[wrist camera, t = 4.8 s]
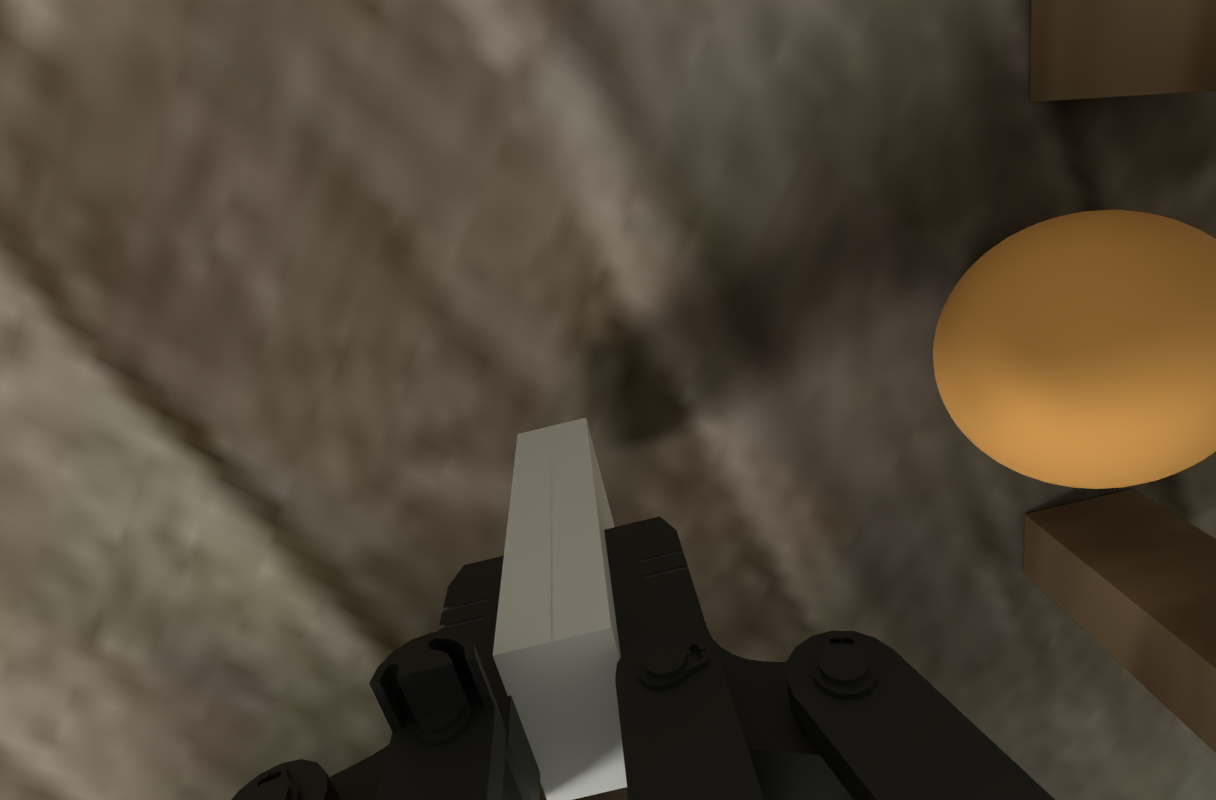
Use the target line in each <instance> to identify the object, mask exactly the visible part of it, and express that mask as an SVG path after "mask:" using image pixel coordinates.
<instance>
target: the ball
mask: <svg viewBox="0 0 1216 800" xmlns="http://www.w3.org/2000/svg"><path fill="white" fill-rule="evenodd" d="M933 366H934V372H935V379H936V383H937V387H938V390H939V393H940V396H941V398H942V401H943V403H944V405H945V407H946V409H947V411H948V412H949V414H950V416H951V418H952V419H953V421H954V422H955V424H956V425H957V426H958V428H959V429H960V430H961V431H962V432H963V433H964V434H965V436H966V437H967V438H968V439H969V440H970V441H971V442H972V443H973V444H974V445H975V446H976V447H978V448H979V449H980V450H981V451H983V452H984V453H985V454H987V455H988V456H990V457H991V458H992V459H994V460H995V461H997V462H998V463H1000V464H1002V465H1004V466H1006V467H1008V468H1010V469H1012V470H1014V471H1016V472H1018V473H1020V474H1022V475H1025V476H1028V477H1031V478H1034V479H1037V480H1040V481H1043V482H1046V483H1051V484H1056V485H1062V486H1067V487H1074V488H1088V489H1105V488H1120V487H1128V486H1133V485H1138V484H1143V483H1147V482H1152V481H1156V480H1159V479H1162V478H1165V477H1168V476H1171V475H1174V474H1176V473H1178V472H1180V471H1183V470H1185V469H1187V468H1189V467H1191V466H1193V465H1195V464H1197V463H1199V462H1201V461H1202V460H1204V459H1205V458H1207V457H1208V456H1210V455H1211V454H1213V453H1214V452H1215V451H1216V239H1215V238H1214V237H1212V236H1210V235H1208V234H1207V233H1205V232H1203V231H1201V230H1199V229H1197V228H1195V227H1192V226H1190V225H1188V224H1185V223H1183V222H1181V221H1178V220H1175V219H1171V218H1168V217H1164V216H1160V215H1156V214H1152V213H1147V212H1139V211H1129V210H1116V209H1113V210H1097V211H1082V212H1078V213H1073V214H1068V215H1063V216H1059V217H1055V218H1051V219H1048V220H1045V221H1042V222H1040V223H1037V224H1034V225H1032V226H1030V227H1027V228H1025V229H1023V230H1021V231H1019V232H1017V233H1015V234H1013V235H1011V236H1009V237H1007V238H1006V239H1005V240H1003V241H1002V242H1000V243H999V244H997V245H996V246H994V247H993V248H991V249H990V250H989V251H987V252H986V253H985V254H984V255H983V256H981V257H980V258H979V259H978V260H977V261H976V262H975V263H974V264H973V265H972V266H971V267H970V268H969V269H968V270H967V271H966V273H965V274H964V275H963V276H962V277H961V279H960V280H959V281H958V282H957V284H956V285H955V287H954V288H953V290H952V292H951V294H950V295H949V297H948V299H947V300H946V302H945V305H944V307H943V309H942V312H941V314H940V317H939V320H938V323H937V326H936V332H935V338H934V344H933Z"/></svg>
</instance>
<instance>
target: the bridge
mask: <svg viewBox="0 0 1216 800" xmlns="http://www.w3.org/2000/svg"><path fill="white" fill-rule="evenodd" d="M1215 90H1216V0H1031V67H1030V102H1041V101H1057V100H1072V99H1088V98H1104V97H1120V96H1136V95H1151V94H1167V93H1183V92H1199V91H1215ZM1024 574H1025V575H1026V576H1027V577H1028V578H1029V579H1030V580H1031V581H1032V582H1034V583H1035V584H1036V585H1037V586H1038V587H1039V588H1040V589H1041V590H1042V591H1043V592H1044V593H1045V594H1046V595H1047V596H1049V597H1050V598H1051V599H1052V600H1053V601H1054V602H1055V603H1056V604H1057V605H1058V606H1059V607H1060V608H1061V609H1062V610H1064V611H1065V612H1066V613H1067V614H1068V615H1069V616H1070V617H1071V618H1072V619H1073V620H1074V621H1075V622H1076V623H1077V624H1079V625H1080V626H1081V627H1082V628H1083V629H1084V630H1085V631H1086V632H1087V633H1088V634H1089V635H1090V636H1091V637H1092V638H1094V639H1095V640H1096V641H1097V642H1098V643H1099V644H1100V645H1101V646H1102V647H1103V648H1104V649H1105V650H1106V651H1107V652H1108V653H1110V654H1111V655H1112V656H1113V657H1114V658H1115V659H1116V660H1117V661H1118V662H1119V663H1120V664H1121V665H1122V666H1123V667H1125V668H1126V669H1127V670H1128V671H1129V672H1130V673H1131V674H1132V675H1133V676H1134V677H1135V678H1136V679H1137V680H1138V681H1140V682H1141V683H1142V684H1143V685H1144V686H1145V687H1146V688H1147V689H1148V690H1149V691H1150V692H1151V693H1152V694H1153V695H1155V696H1156V697H1157V698H1158V699H1159V700H1160V701H1161V702H1162V703H1163V704H1164V705H1165V706H1166V707H1167V708H1168V709H1170V710H1171V711H1172V712H1173V713H1174V714H1175V715H1176V716H1177V717H1178V718H1179V719H1180V720H1181V721H1182V722H1183V723H1185V724H1186V725H1187V726H1188V727H1189V728H1190V729H1191V730H1192V731H1193V732H1194V733H1195V734H1196V735H1197V736H1198V737H1199V738H1201V739H1202V740H1203V741H1204V742H1205V743H1206V744H1207V745H1208V746H1209V747H1210V748H1211V749H1212V750H1213V751H1214V752H1216V539H1214V538H1213V537H1211V536H1210V535H1208V534H1206V533H1205V532H1203V531H1201V530H1200V529H1198V528H1197V527H1195V526H1193V525H1192V524H1190V523H1188V522H1187V521H1185V520H1183V519H1182V518H1180V517H1179V516H1177V515H1175V514H1174V513H1172V512H1170V511H1169V510H1167V509H1166V508H1164V507H1162V506H1161V505H1159V504H1157V503H1156V502H1154V501H1152V500H1151V499H1149V498H1148V497H1146V496H1144V495H1143V494H1141V493H1139V492H1138V491H1136V490H1135V489H1129V490H1125V491H1121V492H1117V493H1112V494H1108V495H1104V496H1100V497H1095V498H1091V499H1087V500H1083V501H1079V502H1074V503H1070V504H1066V505H1062V506H1057V507H1053V508H1049V509H1045V510H1041V511H1036V512H1032V513H1028V514H1025V524H1024Z"/></svg>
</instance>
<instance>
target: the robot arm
mask: <svg viewBox="0 0 1216 800" xmlns="http://www.w3.org/2000/svg"><path fill="white" fill-rule="evenodd" d="M443 609H444V612H442V616H441V621H440V625H439V627H440V630H439V631H438V632H434V633H429V634H427V635H424V636H421V637H418V638H416V639H413V640H411V641H409V642H408V643H406V644H405V645H403V646H402V647H400V648H398V649H397V650H395V651H394V652H393V653H392V654H391V655H390V656H389V657H388V658H387V659H386V660H385V661H384V662H383V663H382V664H381V665H380V666H379V667H378V668H377V670H376V672H375V674H374V676H373V677H372V679H371V681H370V683H369V684H370V686H371V688H372V690H373V692H374V694H375V696H376V698H377V700H378V702H379V705H380V707H381V709H382V711H383V713H384V715H385V717H386V719H387V721H388V723H389V725H390V728H391V730H392V732H393V733H392V737H391V741H390V744H389V745H387V746H386V747H385V748H383V749H382V750H380V751H378V752H377V753H375V754H373V755H372V756H370V757H368V758H366V759H364V760H363V761H361V762H359V763H357V764H355V765H353V766H351V767H349V768H347V769H345V770H343V771H341V772H339V773H337V774H335V775H333V776H331V777H328V775H327V773H326V772H325V771H324V770H323V769H322V767H321V766H320V765H319V764H318V763H317V762H312V761H308V760H303V759H301V760H296V761H291V762H286V763H282V764H280V765H278V766H276V767H274V768H272V769H270V770H268V771H266V772H263V773H261V774H260V775H259V776H257V777H256V778H255V779H253V780H252V781H251V782H250V783H248V784H247V785H246V786H244V787H243V788H242V789H241V790H239V792H238V793H237V794H236V795H235V796H234V797H233V798H232V800H540V783H541V785H542V788H543V791H544V793H545V796H546V799H547V800H574V799H578V798H582V797H586V796H591V795H595V794H599V793H603V792H608V791H612V790H616V789H621V788H625V787H627V791H628V800H1055V799H1054V798H1052V797H1051V796H1050V795H1049V794H1048V793H1047V792H1046V791H1045V790H1044V789H1043V788H1042V787H1041V786H1040V785H1038V784H1037V783H1036V782H1035V781H1034V780H1033V779H1032V778H1031V777H1030V776H1029V775H1028V774H1027V773H1026V772H1025V771H1023V770H1022V769H1021V768H1020V767H1019V766H1018V765H1017V764H1016V763H1015V762H1014V761H1013V760H1012V759H1011V758H1009V757H1008V756H1007V755H1006V754H1005V753H1004V752H1003V751H1002V750H1001V749H1000V748H999V747H998V746H997V745H995V744H994V743H993V742H992V741H991V740H990V739H989V738H988V737H987V736H986V735H985V734H984V733H983V732H981V731H980V730H979V729H978V728H977V727H976V726H975V725H974V724H973V723H972V722H971V721H970V720H969V719H967V718H966V717H965V716H964V715H963V714H962V713H961V712H960V711H959V710H958V709H957V708H956V707H955V706H953V705H952V704H951V703H950V702H949V701H948V700H947V699H946V698H945V697H944V696H943V695H942V694H941V693H939V692H938V691H937V690H936V689H935V688H934V687H933V686H932V685H931V684H930V683H929V682H928V681H927V680H925V679H924V678H923V677H922V676H921V675H920V674H919V673H918V672H917V671H916V670H915V669H914V668H913V667H911V666H910V665H909V664H908V663H907V662H906V661H905V660H904V659H903V658H902V657H901V656H900V655H899V654H897V653H896V652H895V651H894V650H893V649H892V648H890V647H889V646H887V645H885V644H884V643H882V642H881V641H879V640H878V639H876V638H874V637H871V636H867V635H864V634H861V633H857V632H854V631H830V632H826V633H822V634H818V635H815V636H811V637H810V638H808V639H807V640H805V641H804V642H802V643H801V644H799V645H798V646H796V647H795V649H794V651H793V652H792V654H791V655H790V657H789V659H788V660H787V662H763V661H755V660H747V659H744V658H741V657H738V656H735V655H733V654H731V653H729V652H728V651H726V650H724V649H723V648H721V647H720V646H719V645H718V644H717V643H716V642H715V641H714V640H713V639H712V637H711V635H710V633H709V631H708V629H707V627H706V623H705V620H704V617H703V614H702V611H701V608H700V604H699V601H698V598H697V595H696V592H695V588H694V585H693V582H692V579H691V576H690V572H689V569H688V566H687V563H686V560H685V556H684V553H683V550H682V547H681V544H680V540H679V537H678V534H677V531H676V530H675V529H674V528H673V527H672V526H671V525H669V524H668V523H667V522H666V521H664V520H663V519H662V518H661V517H656V518H652V519H648V520H643V521H639V522H635V523H631V524H627V525H622V526H618V527H614V523H613V519H612V515H611V511H610V507H609V504H608V500H607V496H606V492H605V488H604V485H603V481H602V477H601V473H600V469H599V466H598V462H597V458H596V454H595V450H594V446H593V443H592V439H591V435H590V431H589V427H588V424H587V420H586V418H582V419H578V420H574V421H570V422H566V423H562V424H558V425H553V426H549V427H545V428H541V429H537V430H533V431H528V432H524V433H520V434H518V436H517V445H516V453H515V462H514V471H513V480H512V489H511V498H510V506H509V515H508V524H507V533H506V542H505V551H504V556H501V557H497V558H493V559H489V560H484V561H480V562H476V563H472V564H468V565H464V566H463V567H462V569H461V570H460V571H459V573H458V574H457V576H456V577H455V578H454V580H453V581H452V582H451V584H450V585H449V586H448V590H447V594H446V599H445V603H444V608H443Z"/></svg>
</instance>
